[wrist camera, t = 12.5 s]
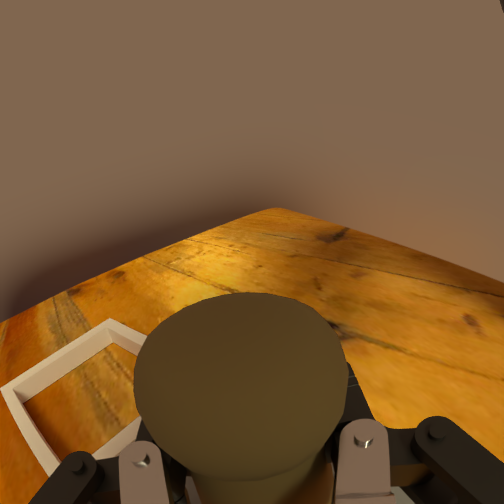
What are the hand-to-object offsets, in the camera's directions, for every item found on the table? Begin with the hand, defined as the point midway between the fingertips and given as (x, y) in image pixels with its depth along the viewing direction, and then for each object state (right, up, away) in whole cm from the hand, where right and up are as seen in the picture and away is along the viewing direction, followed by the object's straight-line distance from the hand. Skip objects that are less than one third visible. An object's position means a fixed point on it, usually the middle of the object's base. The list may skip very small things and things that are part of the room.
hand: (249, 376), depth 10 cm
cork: (+1, -7, 0) cm, 8 cm away
